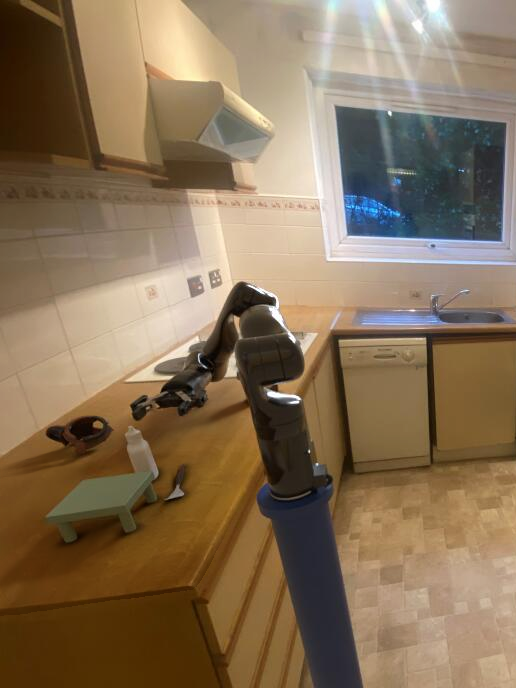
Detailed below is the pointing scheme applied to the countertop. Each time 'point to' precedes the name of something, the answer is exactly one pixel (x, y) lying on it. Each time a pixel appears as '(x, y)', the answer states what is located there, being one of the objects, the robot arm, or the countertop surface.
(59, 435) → the pottery mug
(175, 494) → the fork
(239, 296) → the robot arm
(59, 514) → the stool
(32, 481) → the countertop surface
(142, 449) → the eye dropper bottle
